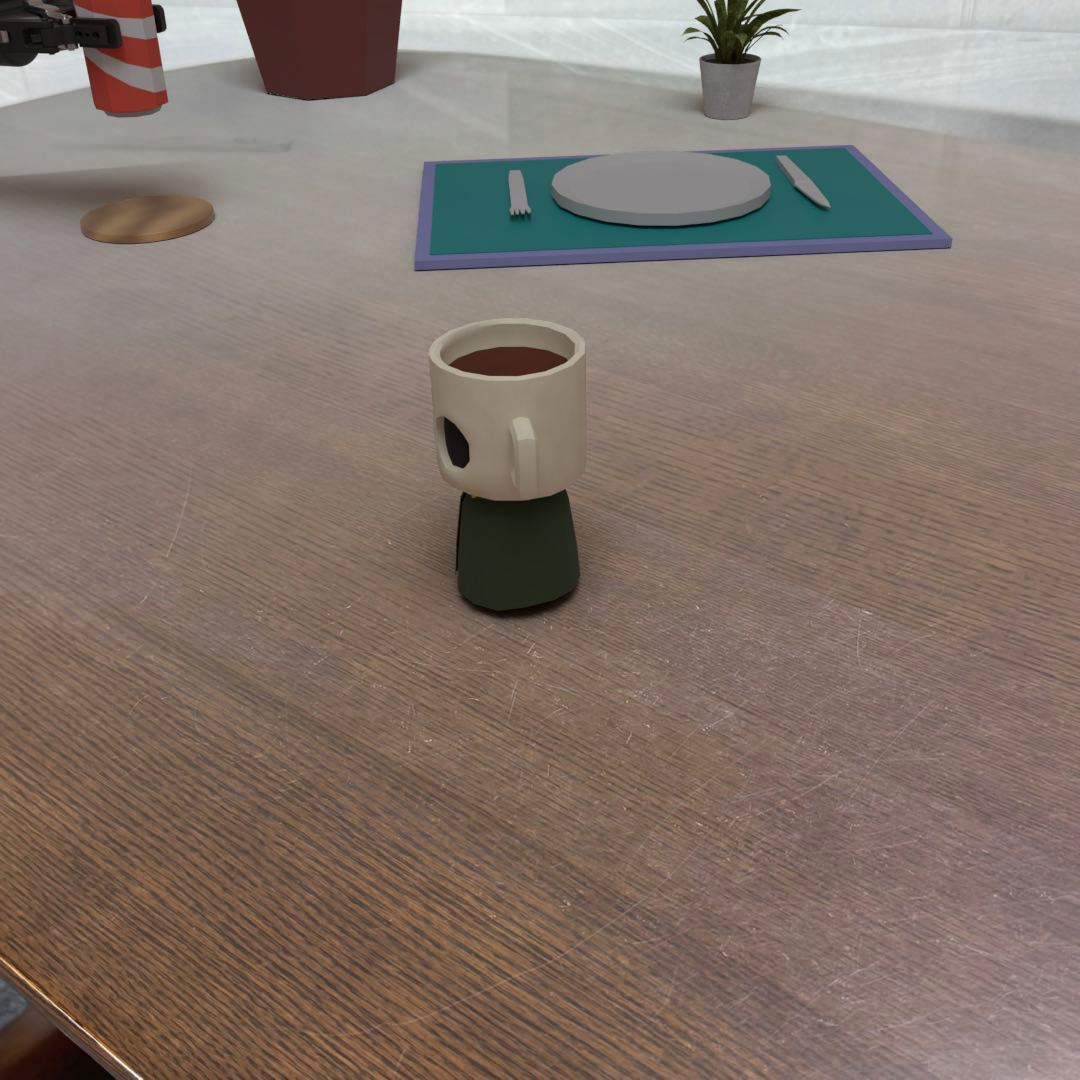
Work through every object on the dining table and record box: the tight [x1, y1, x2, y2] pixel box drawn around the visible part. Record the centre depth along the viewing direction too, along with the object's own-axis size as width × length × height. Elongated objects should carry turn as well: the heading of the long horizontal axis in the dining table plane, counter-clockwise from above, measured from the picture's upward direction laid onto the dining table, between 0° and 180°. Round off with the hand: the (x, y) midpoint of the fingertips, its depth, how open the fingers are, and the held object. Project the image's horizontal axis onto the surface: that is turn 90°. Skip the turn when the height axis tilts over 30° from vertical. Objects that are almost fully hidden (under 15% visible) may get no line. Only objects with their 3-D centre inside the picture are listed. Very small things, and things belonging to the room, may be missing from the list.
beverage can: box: [73, 0, 169, 119], centre depth 102 cm, size 6×6×12 cm
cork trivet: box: [79, 194, 216, 244], centre depth 112 cm, size 12×12×1 cm
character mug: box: [428, 317, 587, 612], centre depth 57 cm, size 11×7×13 cm, turn 9°
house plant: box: [681, 0, 803, 121], centre depth 136 cm, size 14×14×16 cm
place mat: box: [413, 144, 953, 271], centre depth 112 cm, size 45×30×2 cm
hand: (140, 26), depth 101 cm, fingers closed on beverage can, 6 cm apart
